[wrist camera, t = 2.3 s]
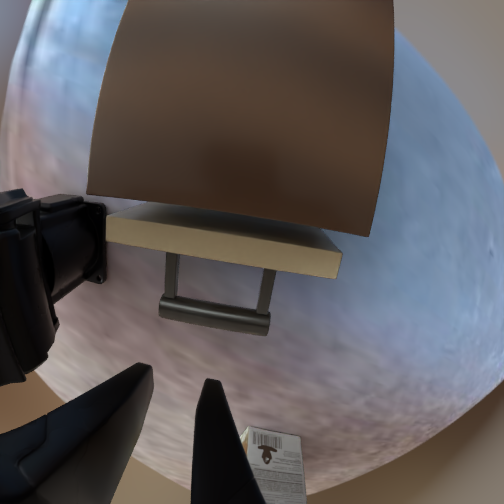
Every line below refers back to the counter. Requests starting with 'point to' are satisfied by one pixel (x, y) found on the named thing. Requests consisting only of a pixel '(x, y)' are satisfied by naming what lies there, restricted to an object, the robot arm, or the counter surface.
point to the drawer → (223, 256)
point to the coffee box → (276, 465)
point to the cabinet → (248, 108)
